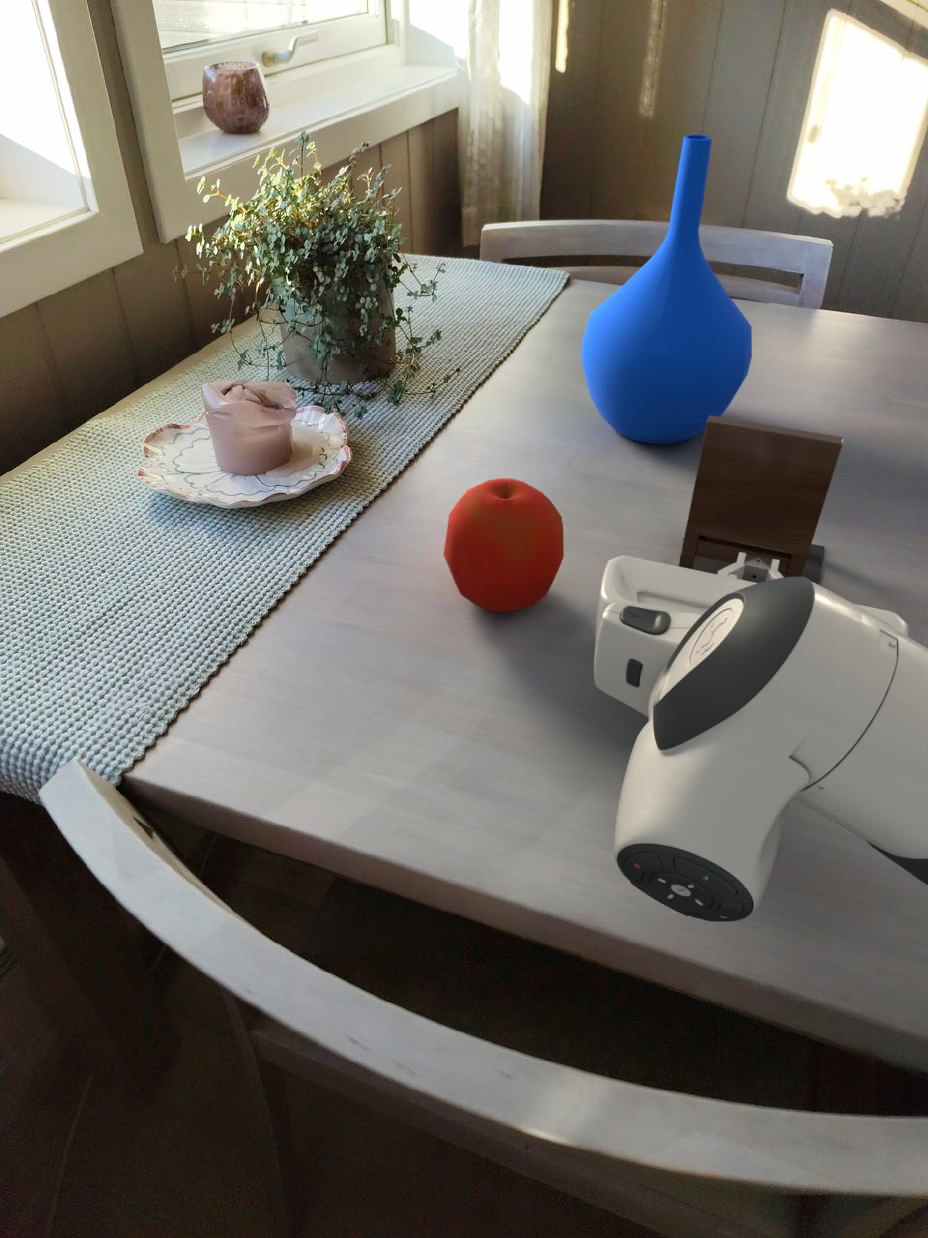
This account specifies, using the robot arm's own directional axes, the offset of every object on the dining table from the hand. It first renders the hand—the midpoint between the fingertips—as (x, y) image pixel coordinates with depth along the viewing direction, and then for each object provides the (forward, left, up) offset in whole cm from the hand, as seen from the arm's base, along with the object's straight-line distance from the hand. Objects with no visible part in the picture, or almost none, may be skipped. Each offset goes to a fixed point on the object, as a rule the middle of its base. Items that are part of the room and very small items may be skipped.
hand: (757, 563), depth 64 cm
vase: (+34, -22, -9) cm, 41 cm away
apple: (+17, +11, -10) cm, 22 cm away
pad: (+8, -10, -9) cm, 16 cm away
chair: (+8, -9, -9) cm, 16 cm away
